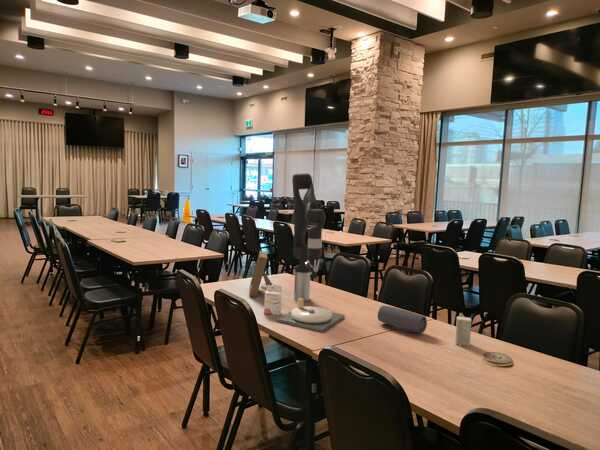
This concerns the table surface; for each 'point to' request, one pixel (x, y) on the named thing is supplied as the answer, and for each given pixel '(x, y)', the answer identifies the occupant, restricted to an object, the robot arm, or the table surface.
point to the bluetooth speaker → (402, 319)
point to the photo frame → (259, 274)
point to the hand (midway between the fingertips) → (314, 278)
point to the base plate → (312, 326)
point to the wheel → (310, 313)
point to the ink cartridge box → (272, 300)
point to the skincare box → (463, 331)
